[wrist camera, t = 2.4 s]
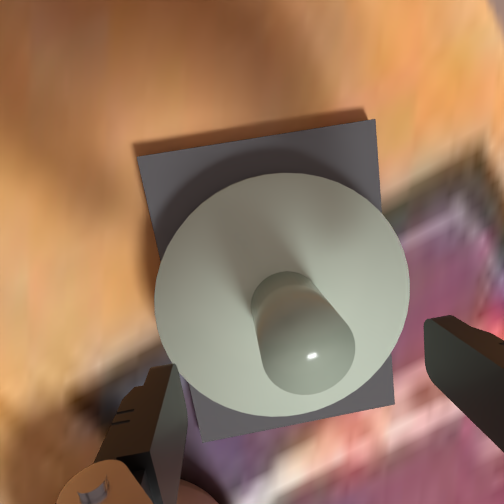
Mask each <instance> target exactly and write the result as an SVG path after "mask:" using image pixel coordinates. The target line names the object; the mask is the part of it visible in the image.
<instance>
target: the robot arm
mask: <svg viewBox="0 0 504 504" xmlns="http://www.w3.org/2000/svg"><path fill="white" fill-rule="evenodd" d="M424 349H425V366H426V370H427V373H428V375H429V377H430V379H431V381H432V382H433V383H434V384H435V385H436V386H437V387H438V388H439V389H440V390H441V391H442V392H443V393H444V394H445V395H446V396H447V397H448V398H449V399H450V400H451V401H452V402H453V403H454V404H455V405H456V406H457V407H458V408H459V409H460V410H461V411H462V412H463V413H464V414H465V415H466V416H467V417H468V418H469V419H470V420H471V421H472V422H473V423H474V424H475V425H476V426H477V427H478V428H479V429H480V430H481V431H482V432H483V433H484V434H486V435H487V436H488V437H489V438H490V439H491V440H492V441H493V442H494V443H495V444H496V445H497V446H498V447H499V448H500V449H501V450H502V451H503V452H504V341H503V340H502V339H500V338H498V337H497V336H495V335H493V334H491V333H489V332H486V331H483V330H479V329H476V328H473V327H471V326H469V325H467V324H466V323H464V322H462V321H461V320H459V319H457V318H456V317H454V316H452V315H448V316H442V317H436V318H431V319H427V320H426V321H425V322H424ZM187 426H188V419H187V409H186V404H185V399H184V395H183V390H182V386H181V381H180V377H179V372H178V368H177V366H176V364H175V363H174V364H168V365H162V366H157V367H151V368H150V370H149V373H148V375H147V378H146V380H145V383H144V386H138V387H134V388H133V389H132V390H131V391H130V392H129V393H128V394H127V395H126V396H125V397H124V398H123V400H122V402H121V404H120V406H119V408H118V411H117V415H115V417H114V419H113V422H112V426H110V428H109V430H108V432H107V435H106V437H105V439H104V441H103V443H102V446H101V448H100V450H99V452H98V454H97V457H96V459H95V461H94V463H93V464H92V465H90V466H88V467H86V468H85V469H83V470H81V471H80V472H79V473H77V474H76V475H75V476H74V477H72V478H71V479H70V480H69V481H68V482H67V484H66V485H65V486H64V487H63V489H62V490H61V492H60V494H59V496H58V498H57V502H56V504H176V503H177V497H178V490H179V483H180V476H181V469H182V462H183V455H184V448H185V441H186V434H187Z"/></svg>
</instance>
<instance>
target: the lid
mask: <svg viewBox="0 0 504 504" xmlns="http://www.w3.org/2000/svg"><path fill="white" fill-rule="evenodd" d="M409 297H410V280H409V272H408V265H407V262H406V258H405V254H404V251H403V248H402V246H401V244H400V241H399V239H398V237H397V235H396V233H395V232H394V230H393V228H392V227H391V225H390V223H389V222H388V221H387V220H386V218H385V217H384V216H383V215H382V213H381V212H380V211H379V210H378V209H377V208H376V207H375V206H374V205H373V204H371V203H370V202H369V201H368V200H367V199H366V198H364V197H363V196H361V195H360V194H358V193H357V192H355V191H354V190H352V189H350V188H348V187H346V186H344V185H342V184H340V183H338V182H335V181H332V180H329V179H326V178H323V177H319V176H314V175H308V174H300V173H274V174H263V175H259V176H255V177H250V178H246V179H244V180H241V181H239V182H236V183H233V184H231V185H229V186H227V187H225V188H223V189H222V190H220V191H218V192H216V193H215V194H213V195H212V196H211V197H209V198H208V199H206V200H205V201H204V202H202V203H201V204H200V205H199V206H198V207H197V208H196V209H195V210H194V211H193V212H192V213H191V214H190V215H189V216H188V217H187V219H186V220H185V221H184V223H183V224H182V225H181V226H180V228H179V229H178V230H177V232H176V233H175V235H174V236H173V238H172V240H171V242H170V243H169V245H168V247H167V249H166V251H165V254H164V256H163V258H162V261H161V263H160V267H159V271H158V275H157V278H156V286H155V294H154V306H155V317H156V323H157V329H158V332H159V335H160V338H161V341H162V344H163V346H164V348H165V350H166V352H167V354H168V357H169V358H170V360H171V361H172V363H173V364H174V363H175V364H176V366H177V368H178V372H179V373H180V374H181V375H182V376H183V377H184V378H185V379H186V381H187V382H188V383H190V384H191V385H192V386H193V387H194V388H195V389H197V390H198V391H199V392H200V393H202V394H203V395H205V396H206V397H208V398H209V399H211V400H212V401H214V402H216V403H219V404H221V405H223V406H225V407H227V408H230V409H233V410H236V411H239V412H242V413H247V414H252V415H258V416H269V417H277V416H292V415H299V414H304V413H308V412H312V411H316V410H318V409H321V408H324V407H326V406H329V405H331V404H333V403H335V402H337V401H339V400H341V399H343V398H345V397H346V396H348V395H349V394H351V393H352V392H354V391H355V390H357V389H358V388H359V387H361V386H362V385H363V384H364V383H365V382H367V381H368V380H369V379H370V378H371V377H372V376H373V375H374V374H375V373H376V372H377V371H378V370H379V368H380V367H381V366H382V365H383V363H384V362H385V361H386V359H387V358H388V357H389V355H390V353H391V352H392V350H393V348H394V346H395V345H396V343H397V341H398V339H399V336H400V334H401V331H402V329H403V326H404V323H405V319H406V316H407V311H408V304H409Z"/></svg>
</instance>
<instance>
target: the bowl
mask: <svg viewBox="0 0 504 504" xmlns="http://www.w3.org/2000/svg"><path fill="white" fill-rule="evenodd" d="M176 504H219V503H217V502H216V500H215V499H214V498H213V497H212V496H211V495H210V494H208V493H207V492H206V491H204V490H203V489H201V488H200V487H198V486H196V485H194V484H192V483H190V482H187V481H185V480H181V479H180V483H179V490H178V497H177V503H176Z"/></svg>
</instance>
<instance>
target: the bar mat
mask: <svg viewBox="0 0 504 504" xmlns="http://www.w3.org/2000/svg"><path fill="white" fill-rule="evenodd" d="M137 160H138V165H139V169H140V173H141V178H142V182H143V187H144V191H145V195H146V200H147V204H148V208H149V213H150V217H151V221H152V226H153V230H154V234H155V239H156V243H157V247H158V252H159V256H160V260H161V261H162V258H163V256H164V254H165V251H166V249H167V247H168V245H169V243H170V242H171V240H172V238H173V236H174V235H175V233H176V232H177V230H178V229H179V228H180V226H181V225H182V224H183V223H184V221H185V220H186V219H187V217H188V216H189V215H190V214H191V213H192V212H193V211H194V210H195V209H196V208H197V207H198V206H199V205H200V204H201V203H202V202H204V201H205V200H206V199H208V198H209V197H211V196H212V195H213V194H215V193H216V192H218V191H220V190H222V189H223V188H225V187H227V186H229V185H231V184H233V183H236V182H239V181H241V180H244V179H246V178H250V177H255V176H259V175H263V174H274V173H300V174H308V175H314V176H319V177H323V178H326V179H329V180H332V181H335V182H338V183H340V184H342V185H344V186H346V187H348V188H350V189H352V190H354V191H355V192H357V193H358V194H360V195H361V196H363V197H364V198H366V199H367V200H368V201H369V202H370V203H371V204H373V205H374V206H375V207H376V208H377V209H378V210H379V211H380V212H381V213H382V210H381V195H380V180H379V165H378V151H377V136H376V121H375V119H372V120H366V121H359V122H353V123H347V124H340V125H334V126H328V127H322V128H315V129H309V130H303V131H296V132H290V133H284V134H278V135H271V136H265V137H259V138H252V139H246V140H240V141H234V142H227V143H221V144H215V145H208V146H202V147H196V148H190V149H183V150H177V151H171V152H164V153H158V154H152V155H146V156H139V157H137ZM189 386H190V391H191V395H192V399H193V404H194V408H195V412H196V417H197V421H198V425H199V430H200V434H201V438H202V443H204V442H209V441H214V440H219V439H224V438H229V437H234V436H239V435H244V434H249V433H254V432H259V431H264V430H269V429H274V428H279V427H284V426H289V425H294V424H299V423H304V422H309V421H314V420H319V419H324V418H329V417H334V416H339V415H344V414H349V413H354V412H359V411H364V410H369V409H374V408H379V407H384V406H389V405H394V404H395V401H394V386H393V372H392V357H391V353H390V355H389V357H388V358H387V359H386V361H385V362H384V363H383V365H382V366H381V367H380V368H379V370H378V371H377V372H376V373H375V374H374V375H373V376H372V377H371V378H370V379H369V380H368V381H367V382H365V383H364V384H363V385H362V386H361V387H359V388H358V389H357V390H355V391H354V392H352V393H351V394H349V395H348V396H346V397H345V398H343V399H341V400H339V401H337V402H335V403H333V404H331V405H329V406H326V407H324V408H321V409H318V410H316V411H312V412H308V413H304V414H299V415H292V416H277V417H269V416H258V415H252V414H247V413H242V412H239V411H236V410H233V409H230V408H227V407H225V406H223V405H221V404H219V403H216V402H214V401H212V400H211V399H209V398H208V397H206V396H205V395H203V394H202V393H200V392H199V391H198V390H197V389H195V388H194V387H193V386H192V385H191V384H190V383H189Z"/></svg>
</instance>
